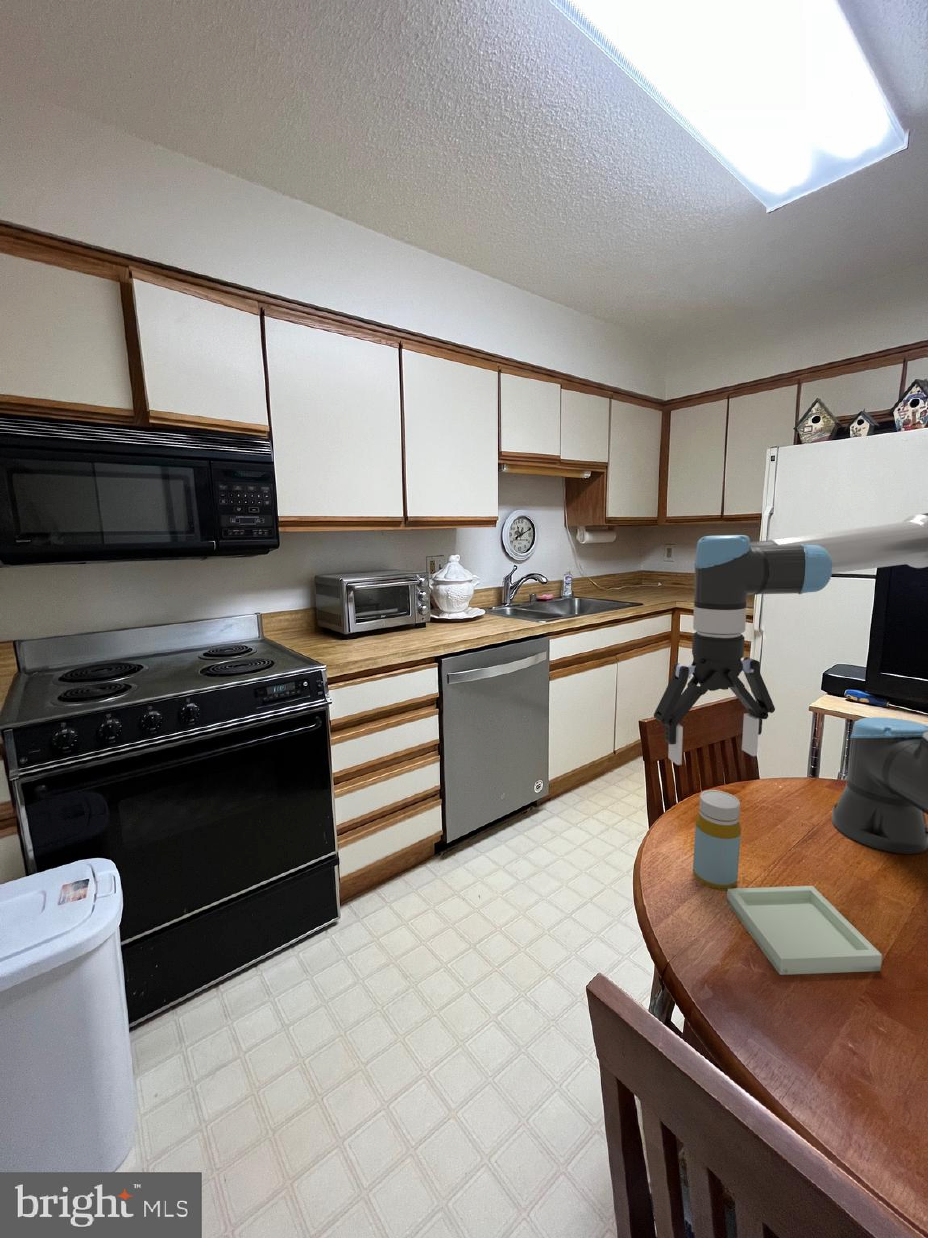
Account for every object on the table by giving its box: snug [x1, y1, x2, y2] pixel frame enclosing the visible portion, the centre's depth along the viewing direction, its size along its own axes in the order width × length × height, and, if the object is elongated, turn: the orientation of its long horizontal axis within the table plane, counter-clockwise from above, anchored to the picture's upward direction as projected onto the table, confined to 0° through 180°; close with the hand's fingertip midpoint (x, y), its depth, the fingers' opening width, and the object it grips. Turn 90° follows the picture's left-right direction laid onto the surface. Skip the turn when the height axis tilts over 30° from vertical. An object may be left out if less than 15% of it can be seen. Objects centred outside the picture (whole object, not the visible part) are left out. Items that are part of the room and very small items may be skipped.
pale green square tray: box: [726, 885, 883, 976], centre depth 78 cm, size 14×14×2 cm
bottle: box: [692, 789, 742, 891], centre depth 89 cm, size 7×7×15 cm
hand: (712, 757), depth 86 cm, fingers open, 13 cm apart
